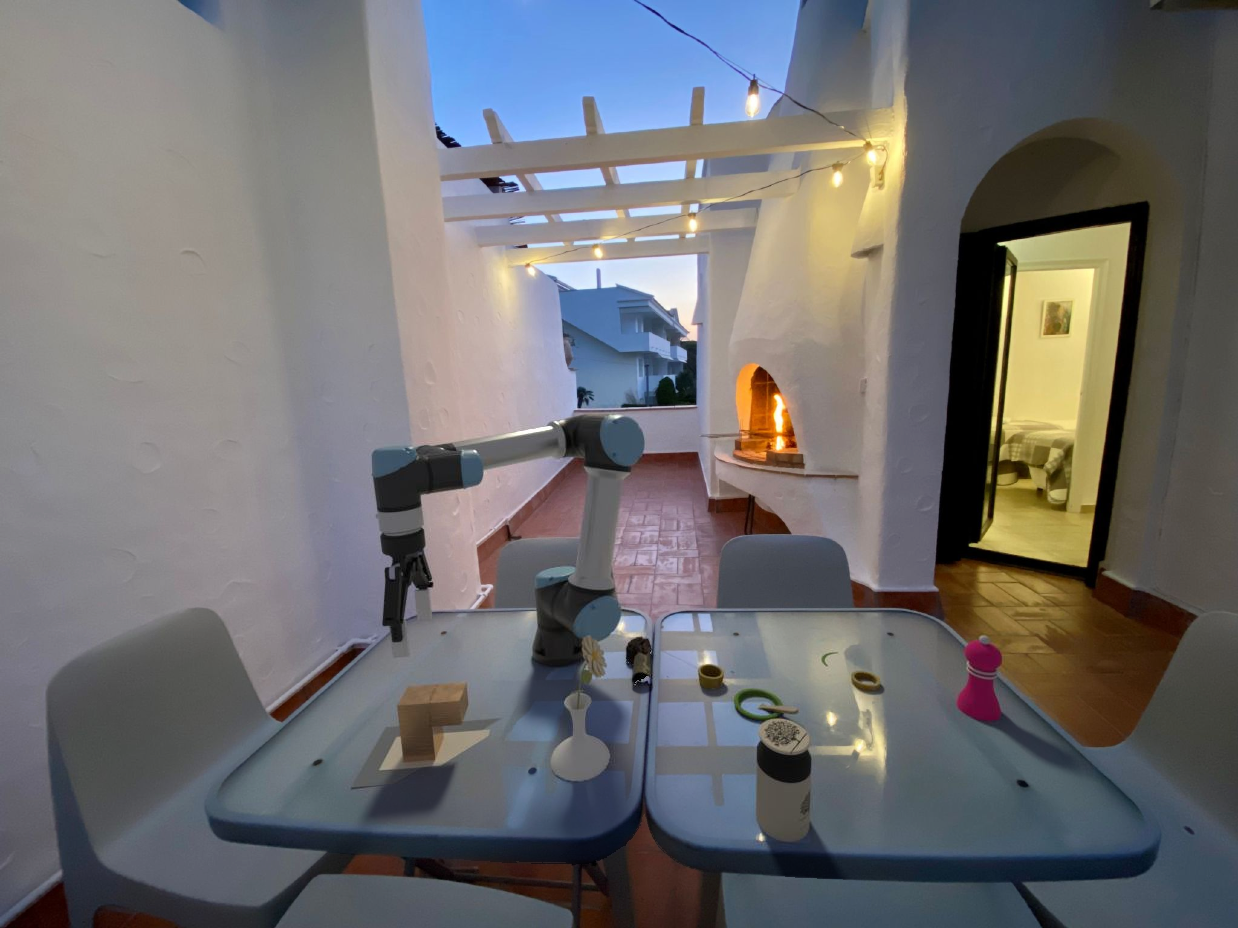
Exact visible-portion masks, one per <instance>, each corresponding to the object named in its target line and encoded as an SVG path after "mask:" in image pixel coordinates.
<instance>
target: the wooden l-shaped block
mask: <svg viewBox="0 0 1238 928" xmlns="http://www.w3.org/2000/svg"><path fill="white" fill-rule="evenodd" d="M468 692H469V691H468V683H467V681H462V682H452V683H438V684H426V685H425V684H424V685H423V684H422V685H411V686H409V685H408V686H407V688H406V689H405V692H404V693H403V695H402V696H401V697H400V700H399V702H398V703H397V704H396V705H397V706H396V708H397V710H396V711H397V718H398V726H399V727H400V736H401V745H402V754H403V763H404V762H416V761H427V760H436V757H437V755H438V752H439V749H440V747H441V744H442V742H443V739H444V733H443V726H452V725H462V722H463V721H464V720H465V716H466V713H467V711H468V708H469V694H468Z"/></svg>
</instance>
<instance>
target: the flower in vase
mask: <svg viewBox="0 0 1238 928" xmlns="http://www.w3.org/2000/svg"><path fill="white" fill-rule="evenodd" d="M598 643H599V642H597V640H596V639H595V640H593V639H592V638H591V636H590V635H588V636H586V637H584V638H583V641H582V645H583V647H582V651H583V657H584V659H583V660H584V664H583V667H582V670H581V673H580V676H579V677H580V678H579V683H578V685H579V686H578V690H575V691H572V692H571V693H569V695H568V696H567V697H566V698H565V699H564V706H565V708H566V709H567V710H568V711H569V714H570V716H571V719H572V736H570V737H567V738H566V739H564V740H562V742H561V743H559V745H557V746H556V747H555V749H554V750H553V752H552V755H551V757H550V768H552V769H551V771H552V770H553V771H554V772H555V773H554V772H553V771H552V772H553V773H554V774H555V776H557V775H558V776H559V777H561V778H564V779H567V780H571V781H570V782H573V781H578V782H585V781H588V780H591V779H593V778H596V777H597V776H599V775H600V774H601V772H602V771H603V772H604V771H605V770H606V769H607V767H608V766H607V765H609V764H608V763H610V761H609V759H610V760H611V753H609V752H610V751H609V748H608V745H606V744H605V743H604V742H603V741H602V740H601V739H599V738H597V737H595V736H593V735H590V734H587V732H586V715H587V710H588V708H589V707H590V706H591V703H592V697H591V696H589V695H588V694H587V693H583V692H584V691H585V690H582V689H581V687H582V683H584V684H585V685H590V683H591V682H592V679H593V676H594V677H595V678H596V679H598V678H599V679H601V678H602V677H604V676H605V675H606V671H605V668H607V667H608V664H607V662H606V658H605V657H604V655H605V652H604V650H603V649H601V645H600V644H598ZM586 666H587V669H586ZM606 766H607V767H606ZM604 769H605V770H604ZM603 772H602V773H603ZM558 776H557V777H558ZM559 777H558V778H559ZM561 778H560V779H561ZM564 779H563V780H564ZM567 780H566V781H567ZM584 780H585V781H584Z"/></svg>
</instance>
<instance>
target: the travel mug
mask: <svg viewBox="0 0 1238 928" xmlns="http://www.w3.org/2000/svg"><path fill="white" fill-rule="evenodd" d="M758 736H759V737H758V738H759V739H760V740H759V742H758V743H757V745H756V764H755V765H756V769H755V770H756V775H755V776H756V780H755V783H756V785H755V788H756V789H755V819H756V822H757V824H758V826H759V827H760V829H761V831H763V832H764V833H765V834H766V835H767V836H770V838H772V839H774V840H778V841H781V842H785V843H791V842H792V843H793V842H798V841H800V840H802V839H804V838H805V837H806V836H807V835H808V832H809V830H810V820H811V819H810V816H811V815H810V814H811V813H810V812H811V792H812V791H811V790H812V789H811V788H812V787H811V786H812V783H811V782H812V761H813V760H812V756H811V755H812V754H811V753H810V751H809V748H810V746H811V737H810V735H809V733H808V731H807V730H806V729H805V728H804V727H803V726H801V725H800V724H799V723H796V722H795V721H793V720H790V719H785V718H774V719H770V720H766V721H764V722H762V723H761V724H760V726H759V727H758Z"/></svg>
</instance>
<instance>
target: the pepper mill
mask: <svg viewBox="0 0 1238 928" xmlns="http://www.w3.org/2000/svg"><path fill="white" fill-rule="evenodd" d="M1002 655H1003V654H1002V653H1001V651H1000V649H999V648H998V647H997V646H995V645H994V644H993V643H991V639H990V637H988V636H987V635H983V634H982V635H981V636H979V638H978V640H973V641H971V642H969V643H968V644H967V645H966V646H965V649H964V657H965V658H966V660H967V662H966V671H967V672H968V677H967V682H966V685H965V686H964V687H963V688H962V689H961V690H960V692H959V694H958V696H957V698H956V699H957V700H956V707H957V708H958V710H959V711H960V712H961V713H963V714H964V715H966V716H968V717H969V718H972V719H976V720H980V721H984V722H995V721H998V720H1000V719H1001V717H1002V713H1001V712H1002V711H1001V705H1000V702H999V700H998V698H997V696H996V692H995V688H994V687H995V686H994V682H995V679H996V678H998V672H999V670H998V668H999V667H1000V666H1001V665H1002V664H1003V656H1002Z"/></svg>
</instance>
